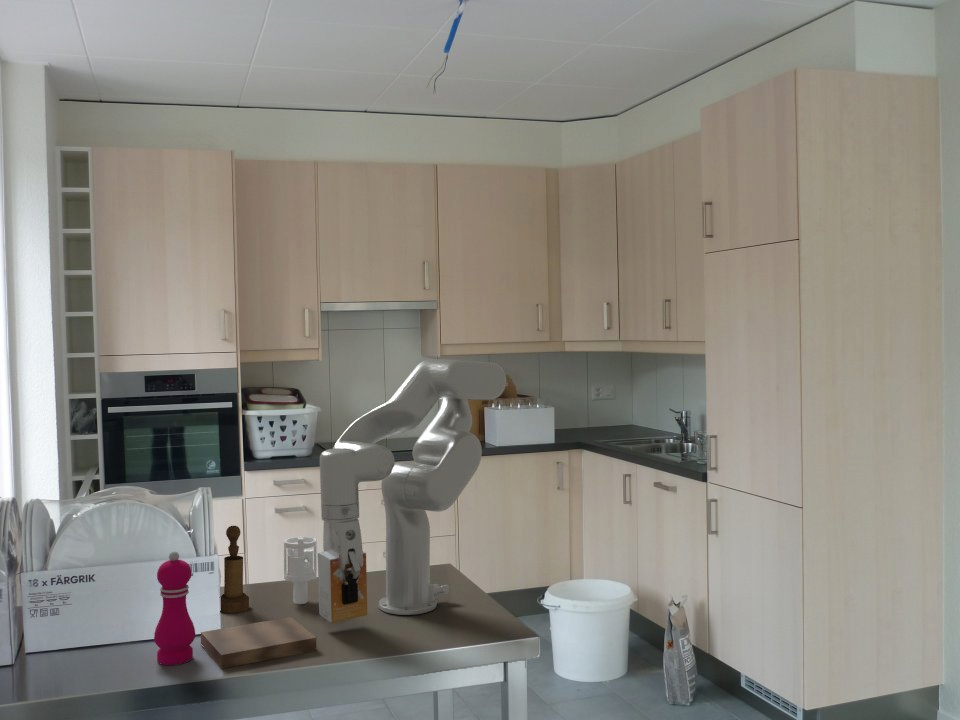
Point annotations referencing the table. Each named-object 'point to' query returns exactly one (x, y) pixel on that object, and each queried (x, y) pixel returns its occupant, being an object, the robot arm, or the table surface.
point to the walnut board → (257, 642)
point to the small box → (339, 590)
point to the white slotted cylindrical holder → (299, 565)
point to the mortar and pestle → (233, 577)
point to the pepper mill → (174, 613)
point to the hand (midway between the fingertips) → (343, 597)
